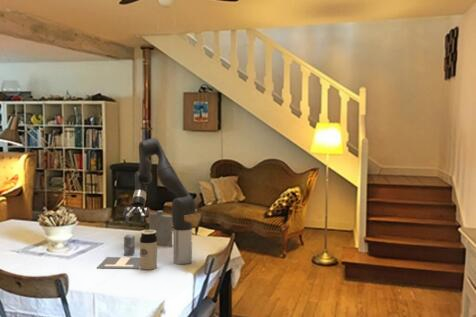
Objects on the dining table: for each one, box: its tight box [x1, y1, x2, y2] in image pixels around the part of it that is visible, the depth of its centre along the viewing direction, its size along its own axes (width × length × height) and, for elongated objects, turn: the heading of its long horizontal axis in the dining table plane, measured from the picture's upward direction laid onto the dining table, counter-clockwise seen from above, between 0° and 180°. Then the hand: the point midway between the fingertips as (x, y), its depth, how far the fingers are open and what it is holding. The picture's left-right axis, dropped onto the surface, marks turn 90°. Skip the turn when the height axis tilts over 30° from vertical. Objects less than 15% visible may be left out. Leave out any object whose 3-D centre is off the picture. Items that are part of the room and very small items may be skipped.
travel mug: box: [139, 229, 158, 271], centre depth 209 cm, size 8×8×18 cm
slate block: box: [123, 234, 136, 257], centre depth 230 cm, size 4×4×10 cm
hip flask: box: [148, 210, 173, 247], centre depth 250 cm, size 16×4×20 cm, turn 61°
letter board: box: [96, 256, 140, 270], centre depth 216 cm, size 20×17×1 cm
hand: (134, 223), depth 241 cm, fingers open, 8 cm apart
